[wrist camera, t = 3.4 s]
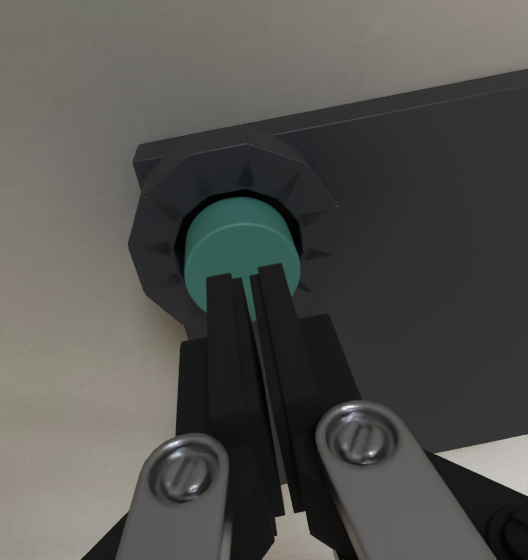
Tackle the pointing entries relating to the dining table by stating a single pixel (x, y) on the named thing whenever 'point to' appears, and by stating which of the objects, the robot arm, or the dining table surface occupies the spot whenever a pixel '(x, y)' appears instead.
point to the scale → (378, 243)
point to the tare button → (237, 246)
